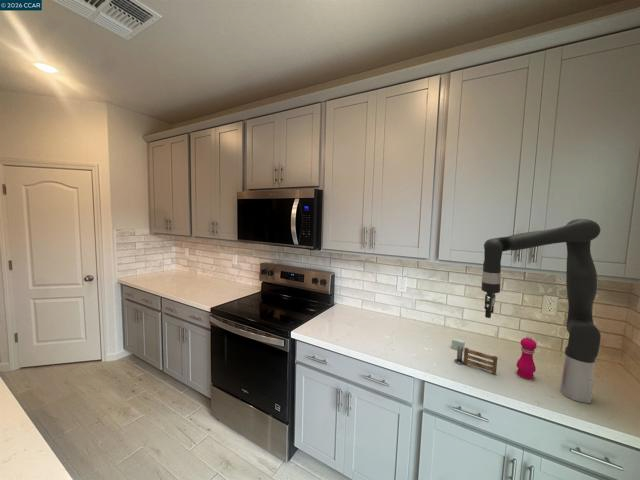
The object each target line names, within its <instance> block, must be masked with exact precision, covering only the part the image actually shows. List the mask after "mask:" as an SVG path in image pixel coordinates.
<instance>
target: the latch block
mask: <svg viewBox="0 0 640 480" xmlns="http://www.w3.org/2000/svg"><path fill="white" fill-rule="evenodd" d="M465 342H466V341H465V340H461V339H459V338H456V337H452V339H451V349H453V350H458V346H460V347H463V352H464V348H465V346H466V345H465V344H466V343H465Z"/></svg>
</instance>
